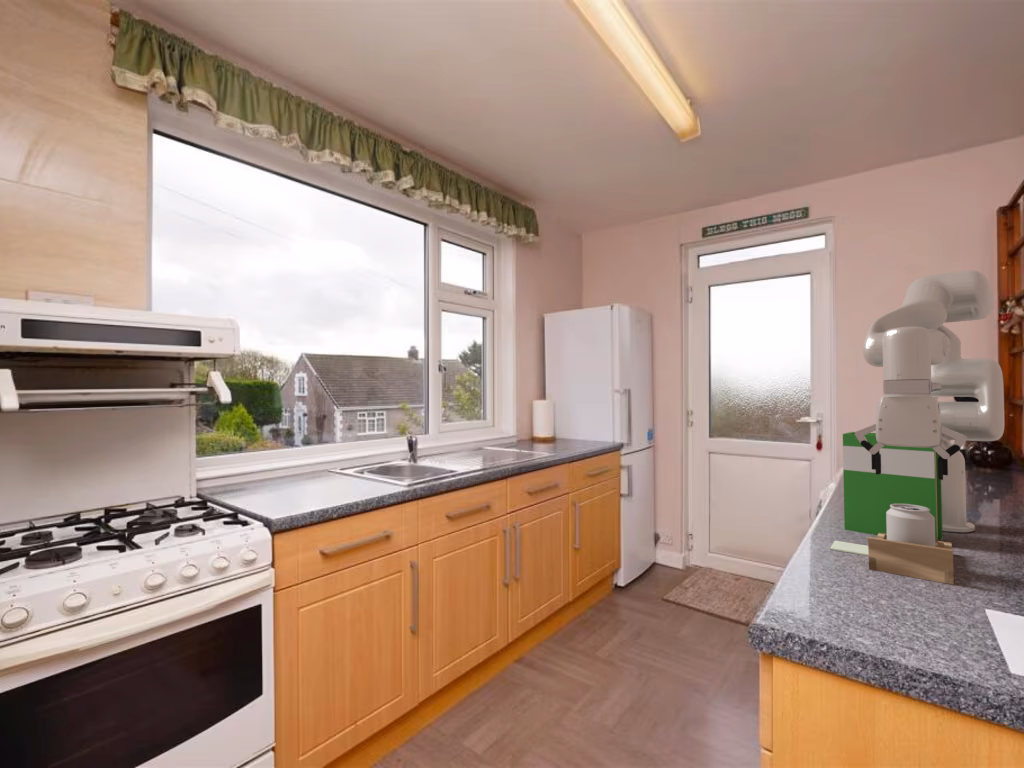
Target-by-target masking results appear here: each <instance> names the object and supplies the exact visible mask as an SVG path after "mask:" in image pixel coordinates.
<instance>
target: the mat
mask: <svg viewBox="0 0 1024 768" xmlns="http://www.w3.org/2000/svg"><path fill="white" fill-rule="evenodd" d="M829 550H831V551H836V552H837V551H838V552H843V553H849V554H854V555H861V556H868V557H869V553H868V545H866V544H865V545H864V544H858V543H853V542H848V541H847V542H846V541H840V540H834V541H833V543H832V544H831V546H830V547H829Z"/></svg>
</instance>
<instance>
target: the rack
mask: <svg viewBox="0 0 1024 768" xmlns="http://www.w3.org/2000/svg"><path fill="white" fill-rule="evenodd" d="M867 539H868V541H867V543H868V545H867V546H868V553H869V556H868V569H869V570H872V571H878V572H883V573H888V574H894V575H899V576H905V577H911V578H915V579H921V580H927V581H930V582H931V581H932V582H937V583H943V584H949V585H952V586H953V585H955V583H954V579H955V577H954V549H953V545H952V543H953V542H949V541H943V540H938V547H933V546H926V545H919V544H913V543H906V542H900V541H893V540H887V534H886V533H878V535H876V537H872V536H869V537H868V538H867Z"/></svg>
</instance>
